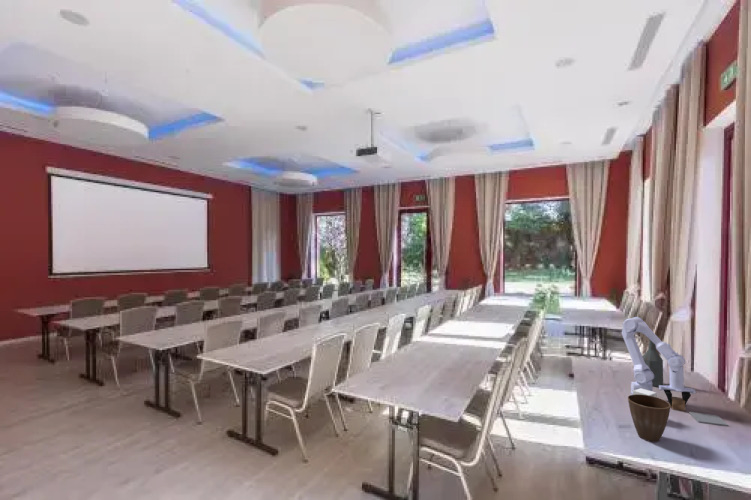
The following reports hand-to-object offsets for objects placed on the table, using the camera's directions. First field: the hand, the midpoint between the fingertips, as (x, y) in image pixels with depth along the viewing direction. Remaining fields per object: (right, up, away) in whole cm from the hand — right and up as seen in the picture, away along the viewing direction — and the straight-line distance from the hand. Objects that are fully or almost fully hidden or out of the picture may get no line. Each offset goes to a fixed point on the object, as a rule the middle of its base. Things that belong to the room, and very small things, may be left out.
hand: (677, 405), depth 190 cm
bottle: (+13, -2, +35) cm, 37 cm away
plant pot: (-36, -2, -29) cm, 47 cm away
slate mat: (+4, -1, -13) cm, 14 cm away
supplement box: (-24, -2, -10) cm, 26 cm away
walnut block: (0, -1, 0) cm, 1 cm away
